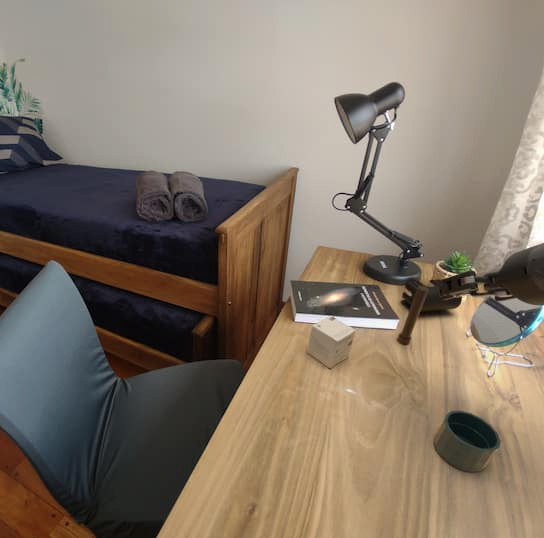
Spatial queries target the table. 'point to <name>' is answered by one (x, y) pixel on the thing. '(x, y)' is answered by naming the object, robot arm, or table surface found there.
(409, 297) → the end cap
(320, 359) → the beige stone block
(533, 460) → the table surface
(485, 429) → the green round cup
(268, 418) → the table surface
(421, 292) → the stick
